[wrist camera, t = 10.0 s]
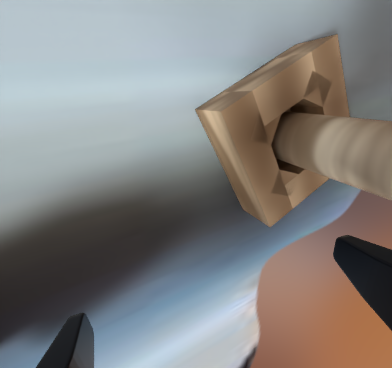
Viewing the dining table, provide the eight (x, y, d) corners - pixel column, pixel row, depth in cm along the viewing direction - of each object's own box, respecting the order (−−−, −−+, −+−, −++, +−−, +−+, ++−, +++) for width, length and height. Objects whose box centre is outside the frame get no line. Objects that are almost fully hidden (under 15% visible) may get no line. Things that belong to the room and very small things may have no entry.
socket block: (243, 209, 24) (270, 227, 21) (194, 109, 19) (220, 111, 16) (319, 149, 27) (355, 156, 23) (295, 44, 21) (337, 34, 18)
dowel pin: (249, 154, 22) (437, 228, 10) (257, 108, 21) (483, 128, 9) (285, 155, 24) (486, 221, 11) (294, 112, 22) (531, 135, 10)
